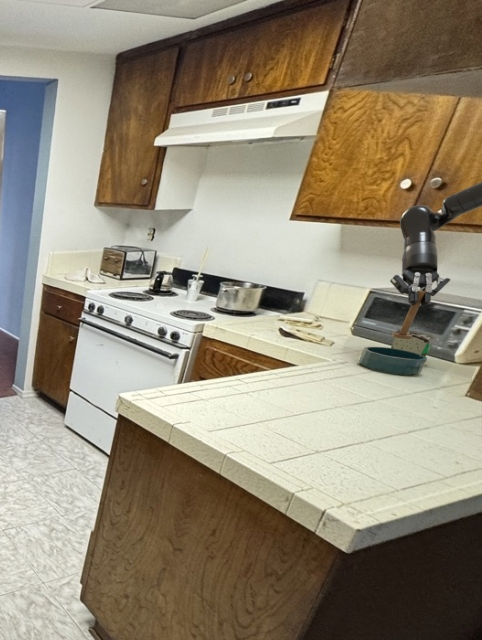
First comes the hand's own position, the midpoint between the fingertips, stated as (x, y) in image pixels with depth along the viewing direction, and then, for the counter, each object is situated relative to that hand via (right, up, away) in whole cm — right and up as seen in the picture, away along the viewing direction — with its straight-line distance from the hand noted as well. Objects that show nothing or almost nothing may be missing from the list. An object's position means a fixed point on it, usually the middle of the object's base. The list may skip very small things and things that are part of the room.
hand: (419, 304), depth 144 cm
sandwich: (+17, -17, +18) cm, 30 cm away
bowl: (+1, -20, +10) cm, 22 cm away
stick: (+1, -10, +6) cm, 11 cm away
